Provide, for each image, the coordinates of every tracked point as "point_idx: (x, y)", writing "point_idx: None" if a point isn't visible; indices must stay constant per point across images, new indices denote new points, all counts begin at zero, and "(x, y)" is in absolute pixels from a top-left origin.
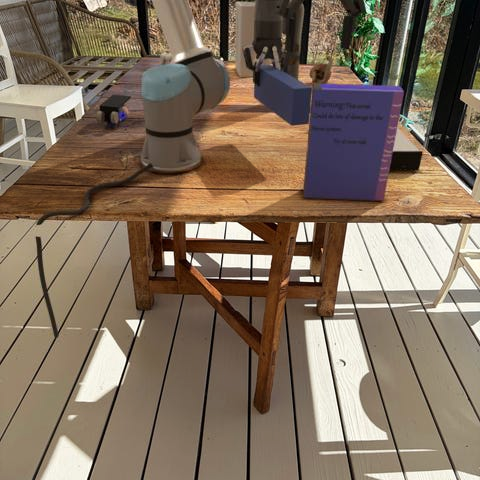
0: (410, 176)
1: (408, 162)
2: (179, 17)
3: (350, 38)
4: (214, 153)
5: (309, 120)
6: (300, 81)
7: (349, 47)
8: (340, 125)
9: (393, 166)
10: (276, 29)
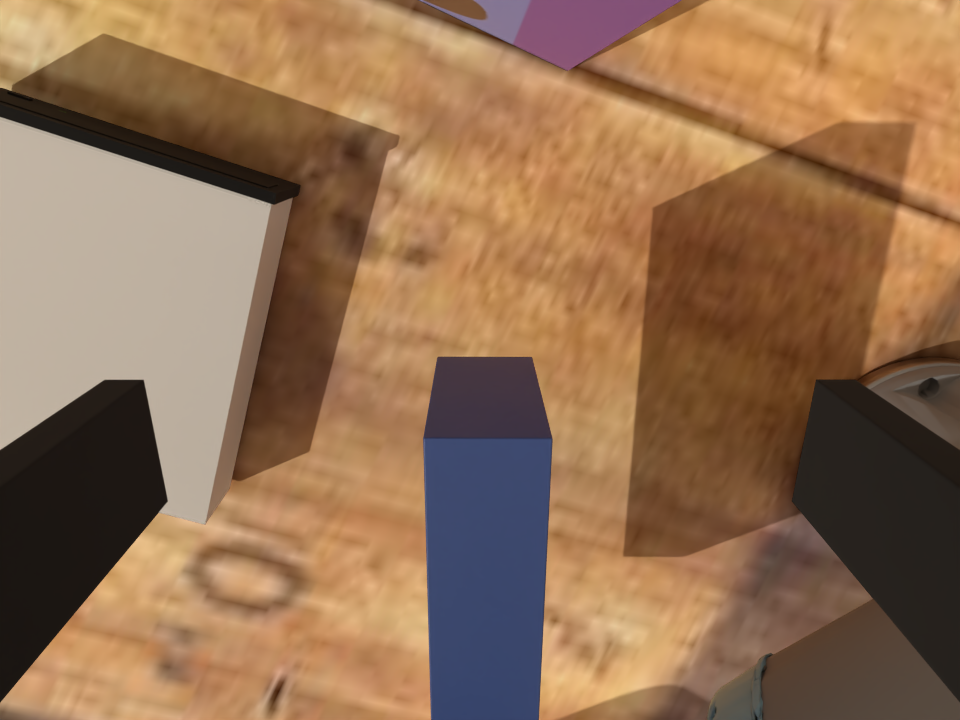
0: (64, 52)
1: (31, 104)
2: None
3: (29, 431)
4: (723, 494)
5: (630, 30)
6: (431, 577)
7: (94, 387)
8: None
9: (108, 125)
10: None
